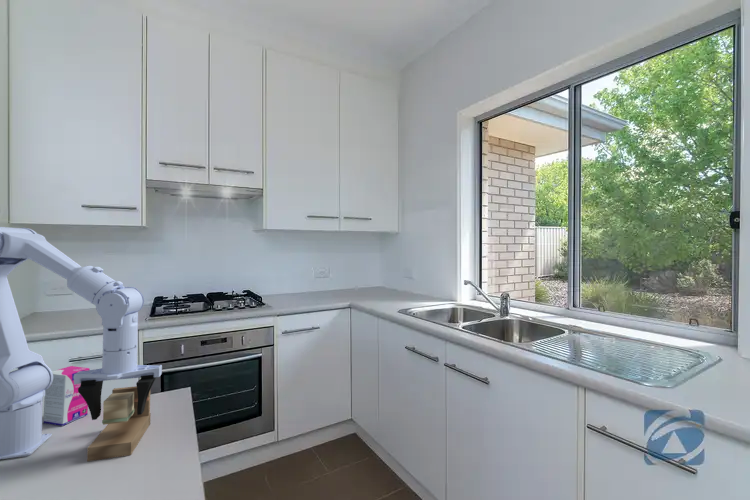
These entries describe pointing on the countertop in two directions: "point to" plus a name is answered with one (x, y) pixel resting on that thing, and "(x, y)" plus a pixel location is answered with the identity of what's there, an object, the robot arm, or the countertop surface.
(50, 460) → the countertop surface
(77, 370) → the supplement box
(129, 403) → the green-banded taupe cube
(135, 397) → the walnut base
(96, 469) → the countertop surface
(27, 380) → the robot arm
